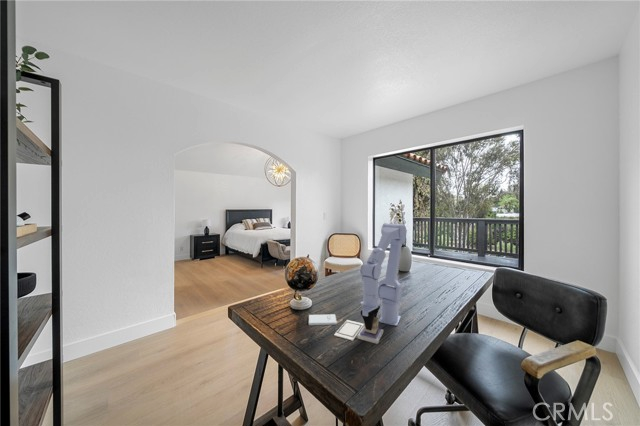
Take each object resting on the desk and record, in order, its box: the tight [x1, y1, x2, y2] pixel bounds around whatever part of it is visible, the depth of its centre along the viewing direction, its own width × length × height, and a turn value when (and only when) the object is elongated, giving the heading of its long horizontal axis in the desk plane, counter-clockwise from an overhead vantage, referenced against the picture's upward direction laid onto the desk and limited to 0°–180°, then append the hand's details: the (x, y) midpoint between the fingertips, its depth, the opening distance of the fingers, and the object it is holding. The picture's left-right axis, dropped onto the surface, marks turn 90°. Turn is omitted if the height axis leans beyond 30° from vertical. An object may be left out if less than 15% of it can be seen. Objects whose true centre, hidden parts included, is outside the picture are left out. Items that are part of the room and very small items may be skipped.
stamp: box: [363, 317, 379, 335], centre depth 95 cm, size 4×4×5 cm
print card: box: [333, 319, 364, 342], centre depth 99 cm, size 14×8×1 cm, turn 151°
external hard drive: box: [308, 313, 338, 326], centre depth 108 cm, size 2×8×12 cm
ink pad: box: [356, 326, 384, 345], centre depth 95 cm, size 9×8×2 cm
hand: (370, 326), depth 95 cm, fingers closed on stamp, 4 cm apart
